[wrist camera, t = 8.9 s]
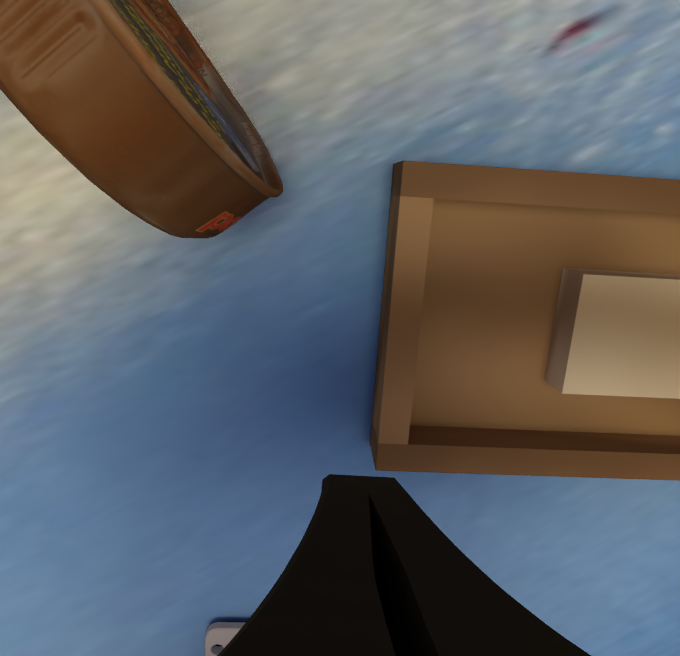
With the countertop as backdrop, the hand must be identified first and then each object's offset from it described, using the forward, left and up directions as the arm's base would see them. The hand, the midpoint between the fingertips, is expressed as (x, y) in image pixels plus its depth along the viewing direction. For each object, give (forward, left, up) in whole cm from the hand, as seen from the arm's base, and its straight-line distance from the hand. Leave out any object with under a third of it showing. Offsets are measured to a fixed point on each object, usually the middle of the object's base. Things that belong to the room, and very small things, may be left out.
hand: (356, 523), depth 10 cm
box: (+2, -9, -9) cm, 13 cm away
